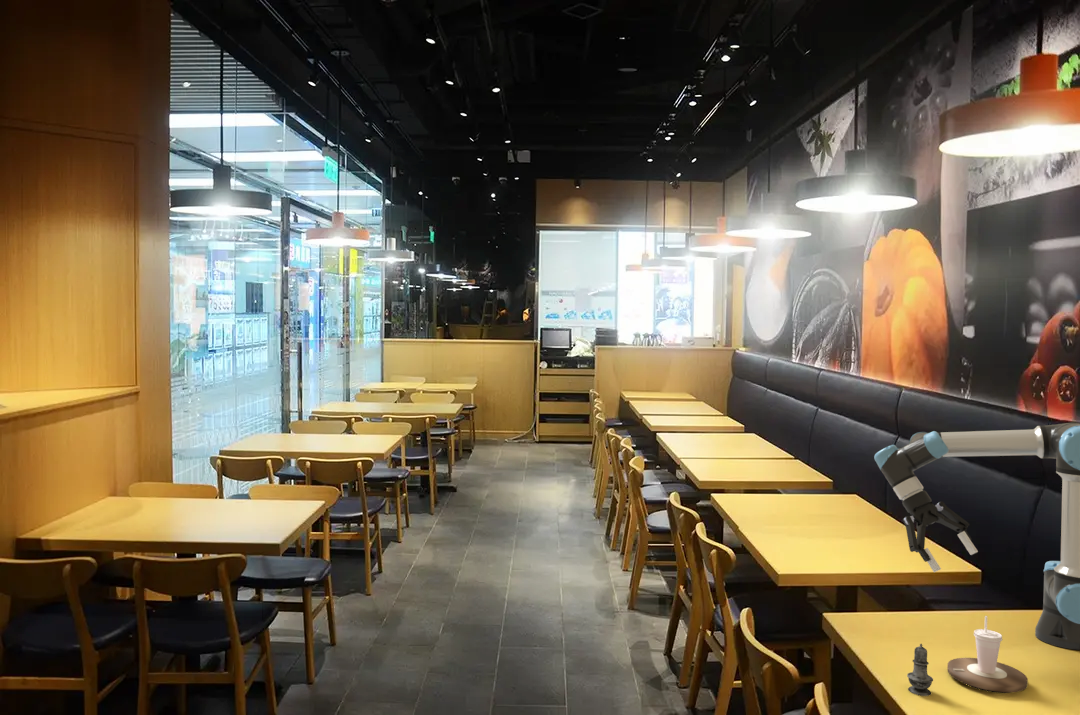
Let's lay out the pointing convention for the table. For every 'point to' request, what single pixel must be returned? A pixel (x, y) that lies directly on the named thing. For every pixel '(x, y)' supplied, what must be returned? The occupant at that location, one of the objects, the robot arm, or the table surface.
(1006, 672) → the turntable
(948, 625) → the table surface
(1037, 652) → the table surface
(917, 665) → the salt shaker
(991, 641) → the smoothie
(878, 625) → the table surface
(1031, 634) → the table surface
